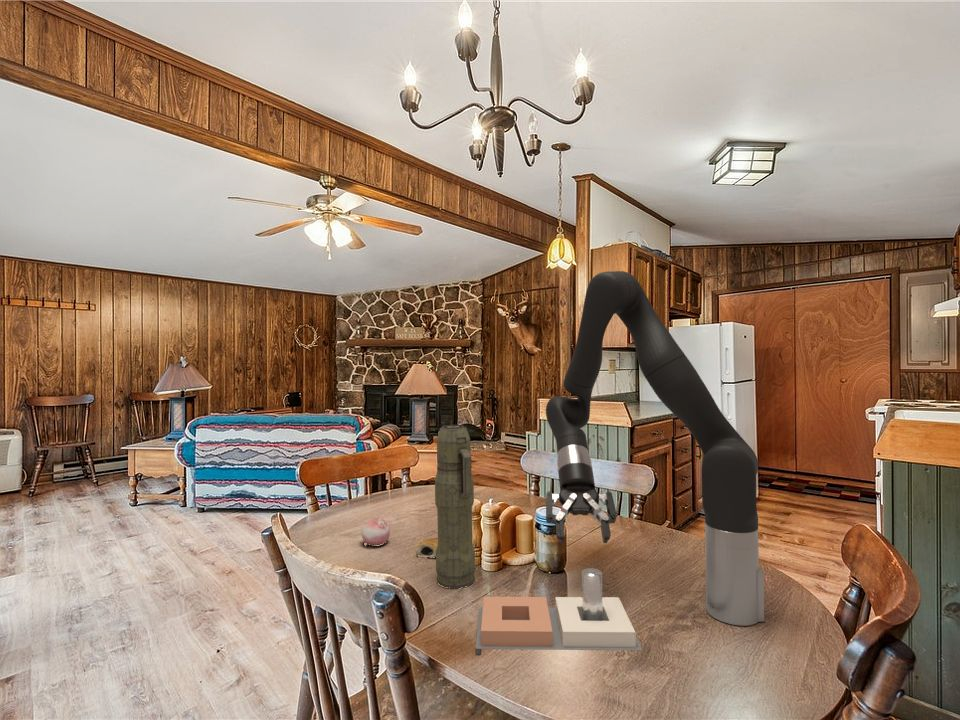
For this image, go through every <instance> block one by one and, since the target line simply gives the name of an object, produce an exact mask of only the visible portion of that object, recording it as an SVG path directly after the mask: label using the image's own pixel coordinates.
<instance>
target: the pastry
mask: <svg viewBox="0 0 960 720" xmlns="http://www.w3.org/2000/svg"><path fill="white" fill-rule="evenodd" d="M437 546H438V537H432V538H427V539H424V540H422V541H421V542H420V543H419V544H418V546H417V550H416V551H415V554H416V556H417V555H420V556H421V555H422V556H428V557H432V558H431V559H434V558H433V557H436V549H437Z"/></svg>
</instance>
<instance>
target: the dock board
mask: <svg viewBox="0 0 960 720" xmlns="http://www.w3.org/2000/svg"><path fill="white" fill-rule="evenodd" d="M602 598H603V621H583V611H582V596H579V597H578V596H555V607H549V605H548V600H547V596H483V599H482V600H483V601H482V606H479V609H478V617H477V618H478V619H477V629H476V630H477V631H476V641H475V655H482V650H547V651H548V650H549V651H551V650H553V651H555V650H556V651H558V650H560V651H562V650H563V651H565V650H566V651H635V652H636V651H643V648H642V646H641V644H640V642H639V639H638V637H637V635H636V634H637V633H636V631H635V629H634V628H635V627H633V626H634V625H633V624H632V621H631V619H630V618H629V616H628V614H627V612H626V610H625V608H624V606H623V603H622V602H621V600H620V597H615V596H613V597H612V596H611V597H606V596H605V597H604V596H602Z"/></svg>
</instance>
